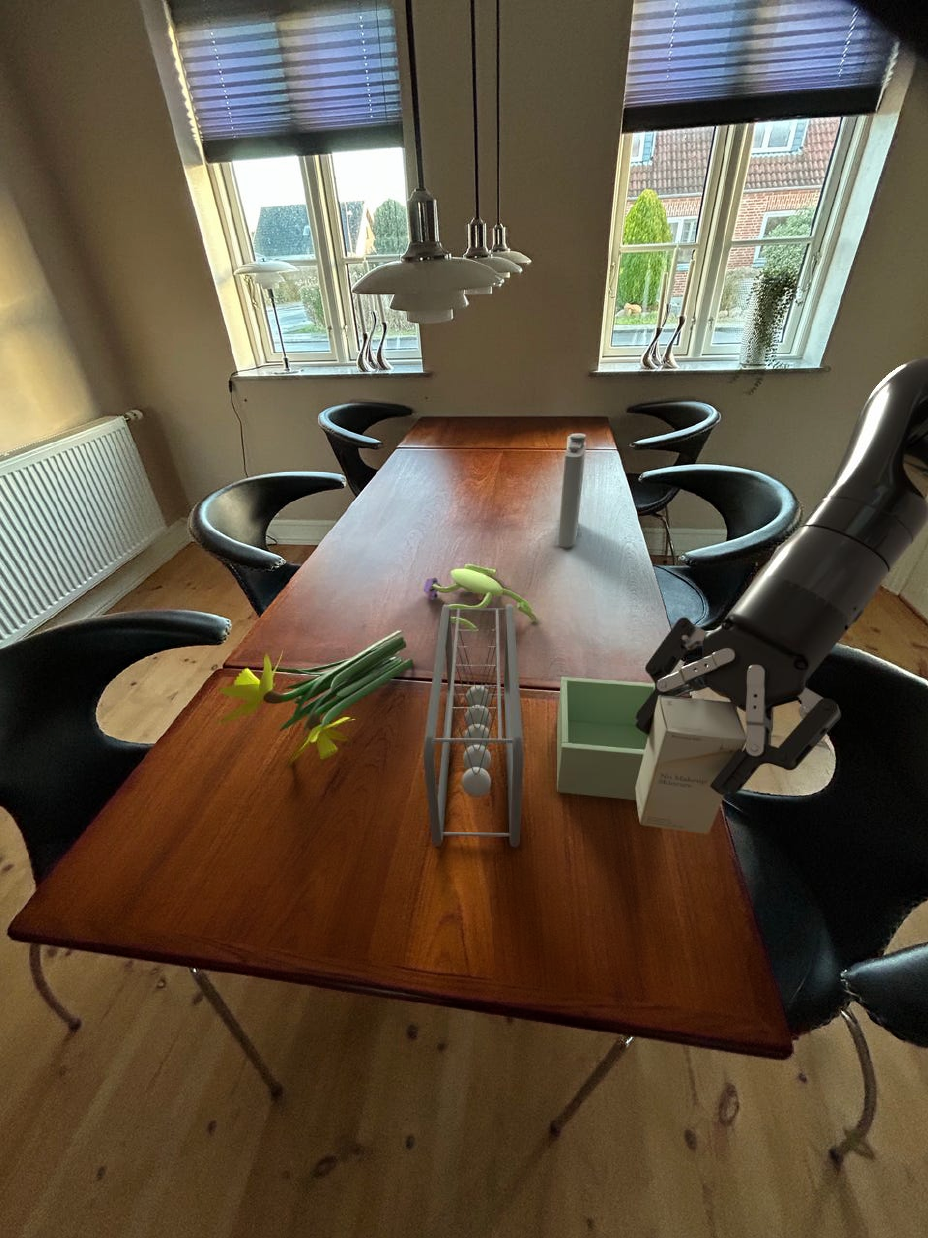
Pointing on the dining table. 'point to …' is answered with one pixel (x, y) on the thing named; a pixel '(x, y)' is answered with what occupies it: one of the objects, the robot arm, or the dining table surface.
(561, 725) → the open square storage box
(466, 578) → the figurine
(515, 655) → the newton's cradle
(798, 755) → the robot arm
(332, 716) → the daffodil flowers
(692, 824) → the cosmetic box
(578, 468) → the flask
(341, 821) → the dining table surface
